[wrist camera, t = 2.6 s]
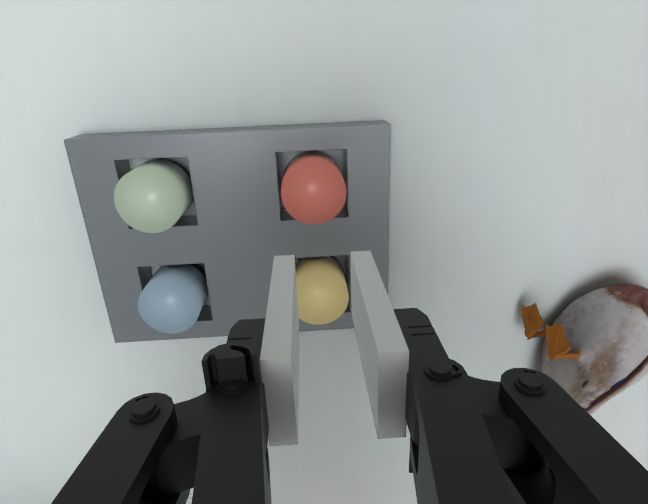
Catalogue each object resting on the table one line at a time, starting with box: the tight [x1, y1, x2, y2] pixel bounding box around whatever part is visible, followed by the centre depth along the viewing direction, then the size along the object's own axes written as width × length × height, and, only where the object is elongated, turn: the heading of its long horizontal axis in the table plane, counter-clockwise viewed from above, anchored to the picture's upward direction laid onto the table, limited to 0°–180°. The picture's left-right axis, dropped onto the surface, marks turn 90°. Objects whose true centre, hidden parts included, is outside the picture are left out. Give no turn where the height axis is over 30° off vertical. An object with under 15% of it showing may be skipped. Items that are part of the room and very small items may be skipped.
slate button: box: [138, 264, 208, 334], centre depth 34 cm, size 4×4×3 cm
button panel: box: [64, 120, 390, 343], centre depth 35 cm, size 22×16×2 cm
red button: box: [281, 152, 347, 224], centre depth 32 cm, size 4×4×3 cm
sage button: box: [114, 159, 193, 233], centre depth 31 cm, size 4×4×3 cm
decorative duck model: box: [522, 284, 648, 414], centre depth 38 cm, size 15×8×15 cm
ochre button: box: [295, 256, 349, 325], centre depth 35 cm, size 4×4×3 cm
